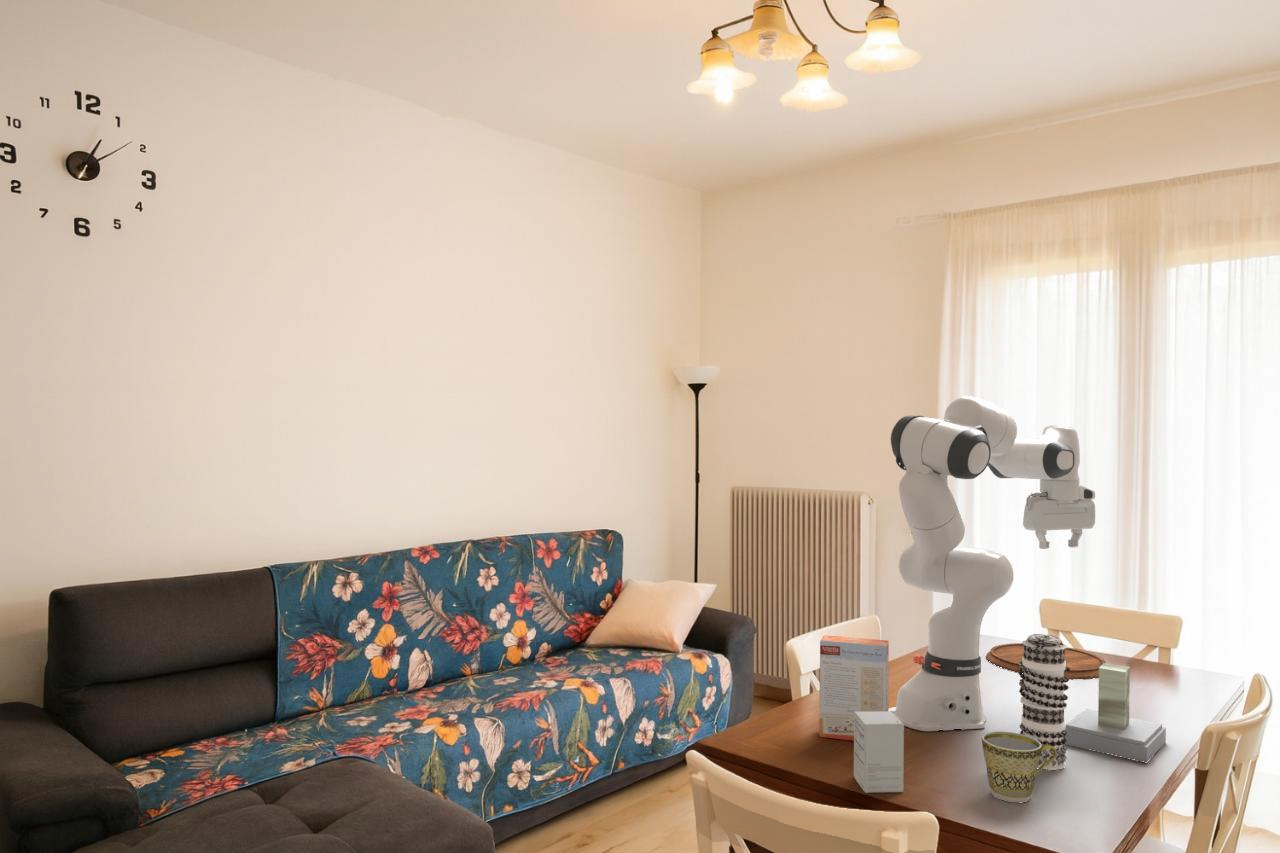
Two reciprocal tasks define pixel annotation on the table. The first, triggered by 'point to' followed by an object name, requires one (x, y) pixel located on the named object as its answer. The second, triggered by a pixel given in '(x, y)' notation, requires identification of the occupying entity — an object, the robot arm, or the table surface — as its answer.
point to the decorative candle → (1044, 695)
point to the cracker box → (851, 682)
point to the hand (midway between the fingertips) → (1058, 547)
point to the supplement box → (878, 751)
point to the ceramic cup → (1012, 764)
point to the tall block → (1114, 696)
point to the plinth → (1116, 736)
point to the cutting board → (1076, 660)
